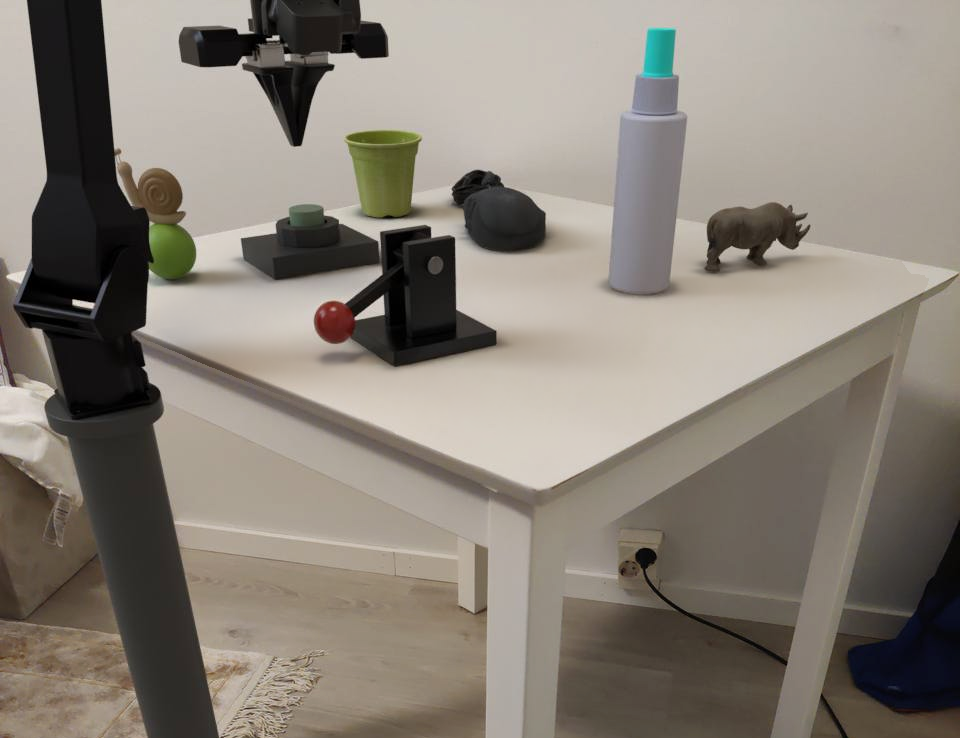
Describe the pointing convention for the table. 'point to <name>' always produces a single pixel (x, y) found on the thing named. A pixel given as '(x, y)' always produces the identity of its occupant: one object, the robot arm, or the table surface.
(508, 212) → the dark rounded piece
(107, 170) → the robot arm
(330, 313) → the lever
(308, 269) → the box
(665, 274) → the spray bottle
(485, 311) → the table surface
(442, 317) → the switch bracket
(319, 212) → the power button
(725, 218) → the rhino figurine
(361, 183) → the plant pot
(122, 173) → the snail figurine
